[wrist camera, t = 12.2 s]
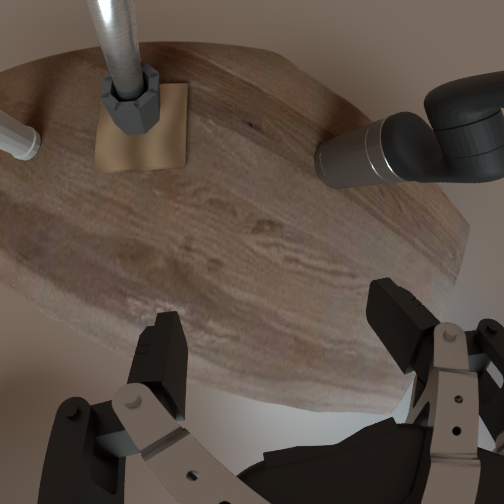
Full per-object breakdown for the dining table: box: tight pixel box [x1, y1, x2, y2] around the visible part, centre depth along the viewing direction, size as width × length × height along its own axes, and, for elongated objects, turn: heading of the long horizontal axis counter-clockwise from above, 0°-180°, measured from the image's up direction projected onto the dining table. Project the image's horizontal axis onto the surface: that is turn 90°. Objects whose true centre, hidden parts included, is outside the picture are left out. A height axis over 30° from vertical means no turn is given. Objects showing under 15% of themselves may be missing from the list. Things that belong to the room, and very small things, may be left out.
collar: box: [101, 61, 161, 135], centre depth 27 cm, size 6×6×9 cm
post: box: [87, 0, 188, 174], centre depth 22 cm, size 14×14×32 cm
